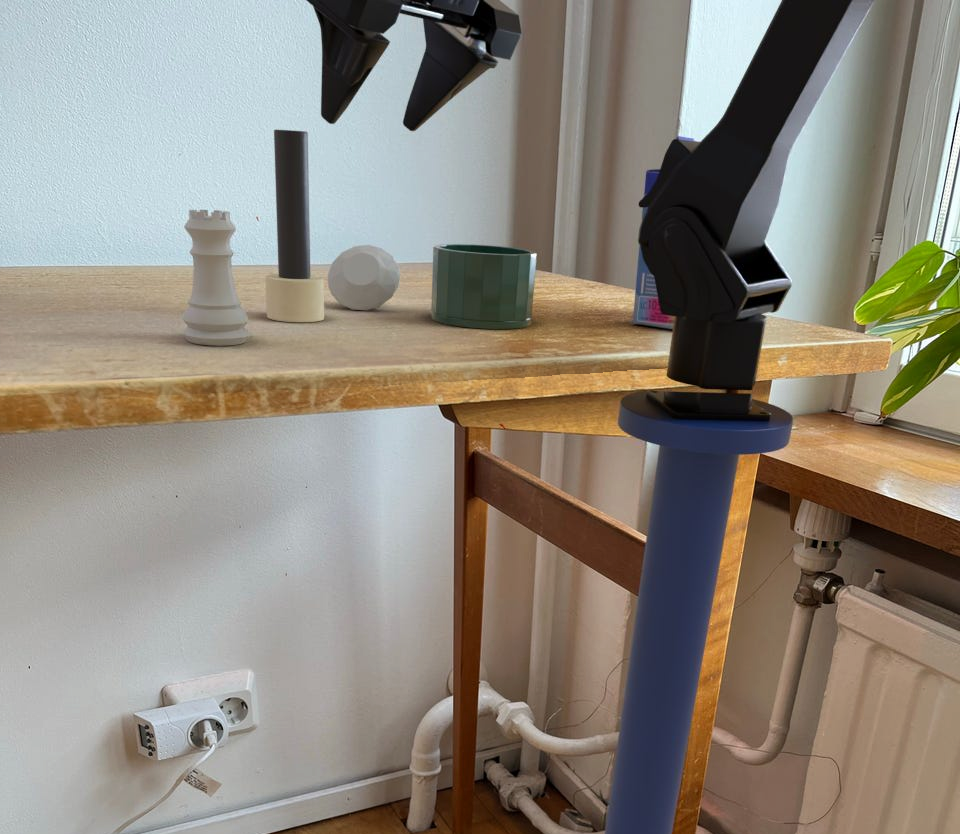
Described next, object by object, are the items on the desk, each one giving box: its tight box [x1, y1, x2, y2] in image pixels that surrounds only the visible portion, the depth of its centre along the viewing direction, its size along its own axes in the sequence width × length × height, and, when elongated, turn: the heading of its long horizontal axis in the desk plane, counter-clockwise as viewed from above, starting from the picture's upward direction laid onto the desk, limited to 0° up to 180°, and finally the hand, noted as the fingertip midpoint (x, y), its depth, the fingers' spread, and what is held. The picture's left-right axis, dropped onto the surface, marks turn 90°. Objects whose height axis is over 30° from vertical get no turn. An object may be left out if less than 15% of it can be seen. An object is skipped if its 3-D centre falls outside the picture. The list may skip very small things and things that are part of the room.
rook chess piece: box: [181, 209, 251, 347], centre depth 64 cm, size 4×4×8 cm
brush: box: [264, 129, 325, 323], centre depth 73 cm, size 4×4×13 cm
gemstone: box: [327, 244, 401, 312], centre depth 84 cm, size 6×6×5 cm
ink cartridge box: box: [632, 135, 696, 330], centre depth 83 cm, size 10×6×14 cm, turn 148°
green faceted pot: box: [430, 243, 538, 330], centre depth 79 cm, size 8×8×6 cm
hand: (369, 124), depth 72 cm, fingers open, 9 cm apart
